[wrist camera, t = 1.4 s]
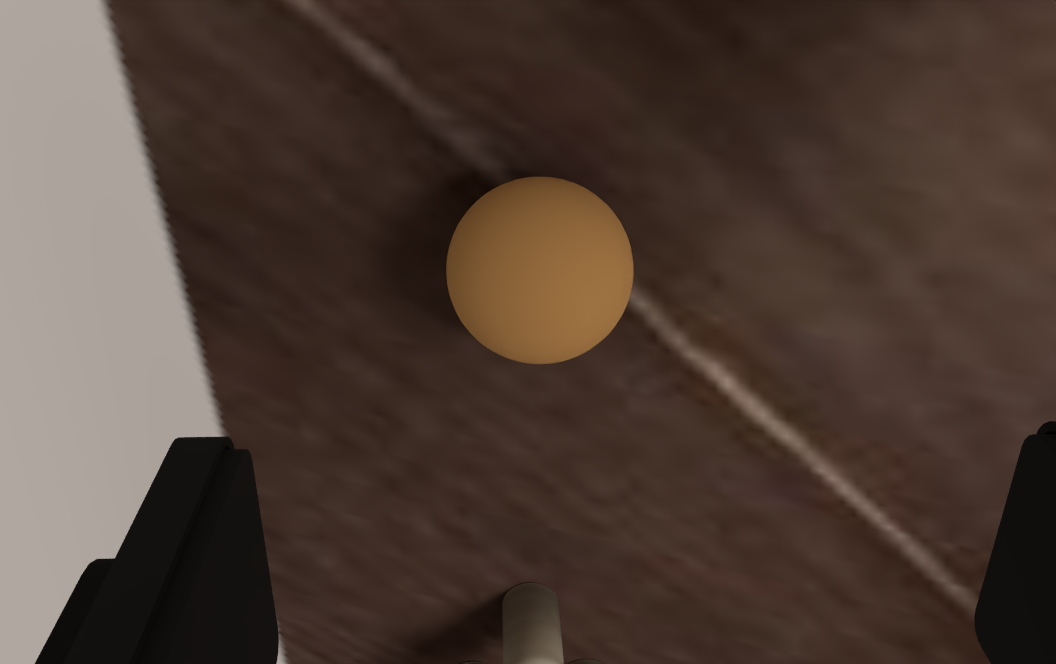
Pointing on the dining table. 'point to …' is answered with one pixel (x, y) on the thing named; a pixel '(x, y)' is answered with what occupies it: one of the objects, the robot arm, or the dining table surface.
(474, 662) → the pin
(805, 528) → the dining table surface
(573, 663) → the pin
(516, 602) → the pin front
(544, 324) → the ball
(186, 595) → the robot arm
